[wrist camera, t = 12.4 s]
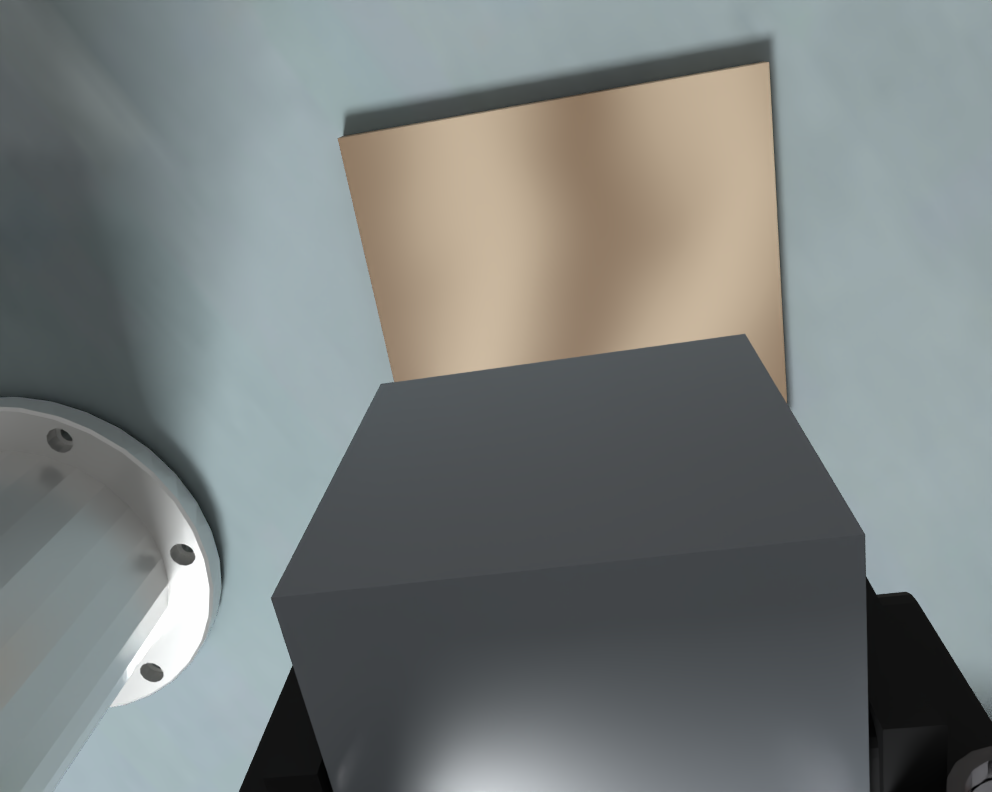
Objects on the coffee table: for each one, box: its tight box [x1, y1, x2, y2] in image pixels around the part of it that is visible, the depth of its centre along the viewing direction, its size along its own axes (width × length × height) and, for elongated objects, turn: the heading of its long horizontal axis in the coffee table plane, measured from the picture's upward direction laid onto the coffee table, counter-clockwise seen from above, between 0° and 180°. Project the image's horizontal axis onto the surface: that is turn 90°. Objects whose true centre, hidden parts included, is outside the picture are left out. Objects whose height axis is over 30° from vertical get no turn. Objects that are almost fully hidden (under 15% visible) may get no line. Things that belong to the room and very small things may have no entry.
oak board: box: [338, 61, 787, 403], centre depth 26 cm, size 12×11×1 cm
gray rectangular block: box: [271, 334, 870, 792], centre depth 10 cm, size 7×4×4 cm, turn 10°
